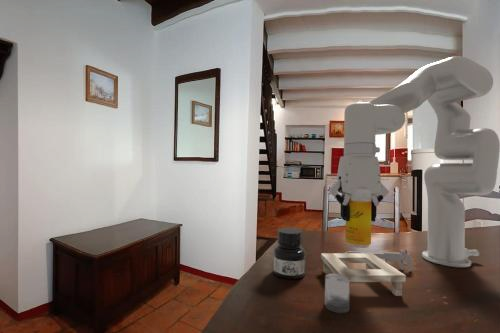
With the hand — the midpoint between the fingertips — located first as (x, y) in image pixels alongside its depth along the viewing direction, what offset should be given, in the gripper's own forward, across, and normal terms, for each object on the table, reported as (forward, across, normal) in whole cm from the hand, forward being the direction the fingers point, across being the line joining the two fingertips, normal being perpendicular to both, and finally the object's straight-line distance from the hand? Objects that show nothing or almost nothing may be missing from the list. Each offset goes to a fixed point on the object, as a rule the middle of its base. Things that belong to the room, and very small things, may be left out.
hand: (358, 219), depth 65 cm
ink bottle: (+17, +17, -6) cm, 24 cm away
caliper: (+17, -12, -14) cm, 25 cm away
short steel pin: (+17, +10, +11) cm, 22 cm away
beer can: (+7, 0, 0) cm, 7 cm away
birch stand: (+16, 0, 0) cm, 16 cm away
